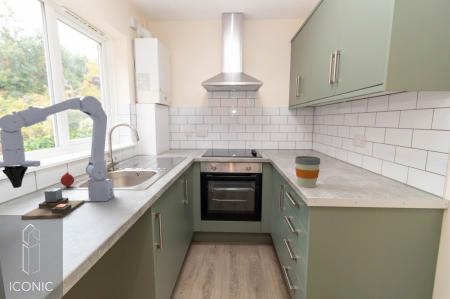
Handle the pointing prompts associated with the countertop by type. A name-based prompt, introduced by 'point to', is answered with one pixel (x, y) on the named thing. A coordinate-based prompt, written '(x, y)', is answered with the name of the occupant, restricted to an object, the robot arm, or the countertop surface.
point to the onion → (67, 180)
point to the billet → (53, 195)
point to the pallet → (53, 209)
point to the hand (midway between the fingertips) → (17, 187)
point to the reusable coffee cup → (307, 171)
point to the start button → (61, 206)
